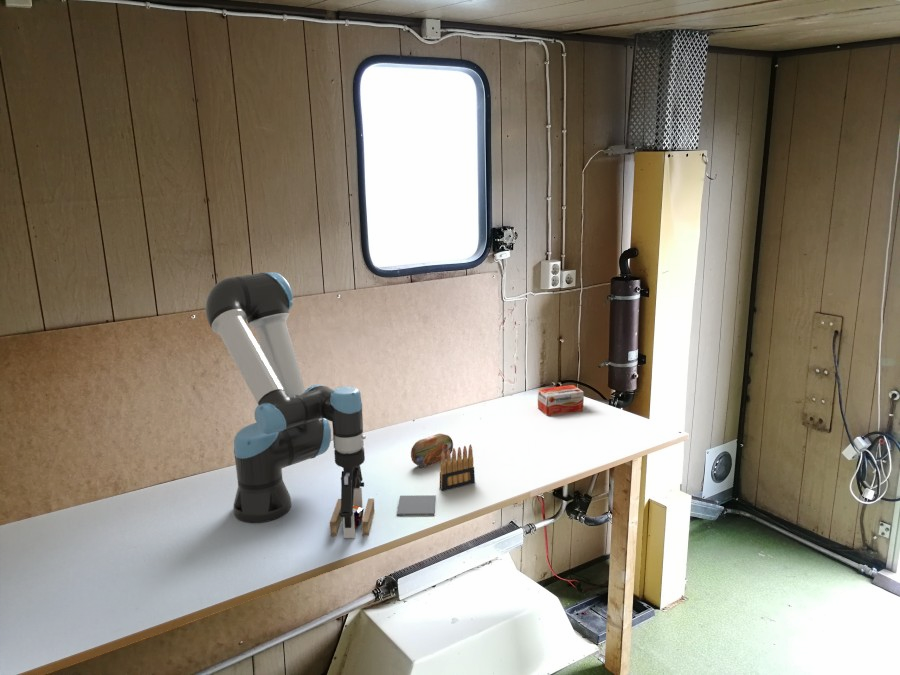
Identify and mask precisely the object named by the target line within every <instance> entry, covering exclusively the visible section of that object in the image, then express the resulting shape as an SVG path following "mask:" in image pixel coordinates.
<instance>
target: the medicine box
mask: <svg viewBox="0 0 900 675" xmlns="http://www.w3.org/2000/svg"><path fill="white" fill-rule="evenodd" d="M584 399H585V397H584V391H583V390H582V389H580V388H579V387H578V386H576V385H574V384H570V385H563V386H554V387H546V388H538V393H537V409H538V410H539V411H540V412H542V413H544V414H545V416H546V417H547V416H548V417H549V416H550V417H551V416H556V415H557V416H558V415H564V414H572V413H578V412H583V409H584Z"/></svg>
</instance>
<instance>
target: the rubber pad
mask: <svg viewBox="0 0 900 675" xmlns="http://www.w3.org/2000/svg"><path fill="white" fill-rule="evenodd" d="M436 498H437V496H436V494H435V495H426V494H425V495H424V494H423V495H419V494H418V495H416V494H415V495H400V496H399V500H398V503H397V510H396V516H400V517H401V516H403V517H404V516H405V517H406V516H411V517H412V516H421V517H423V516H435V512H436V502H437V501H436Z"/></svg>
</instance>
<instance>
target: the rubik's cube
mask: <svg viewBox="0 0 900 675" xmlns="http://www.w3.org/2000/svg"><path fill="white" fill-rule="evenodd" d="M364 509H365V508H364V507H363V508H361V507H358V506H355V505H353V513H354V525H355V528H357V527H358V526H360V525H361V524H362V520H363V516H364V512H365V510H364ZM342 519H343V517H342Z"/></svg>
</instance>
